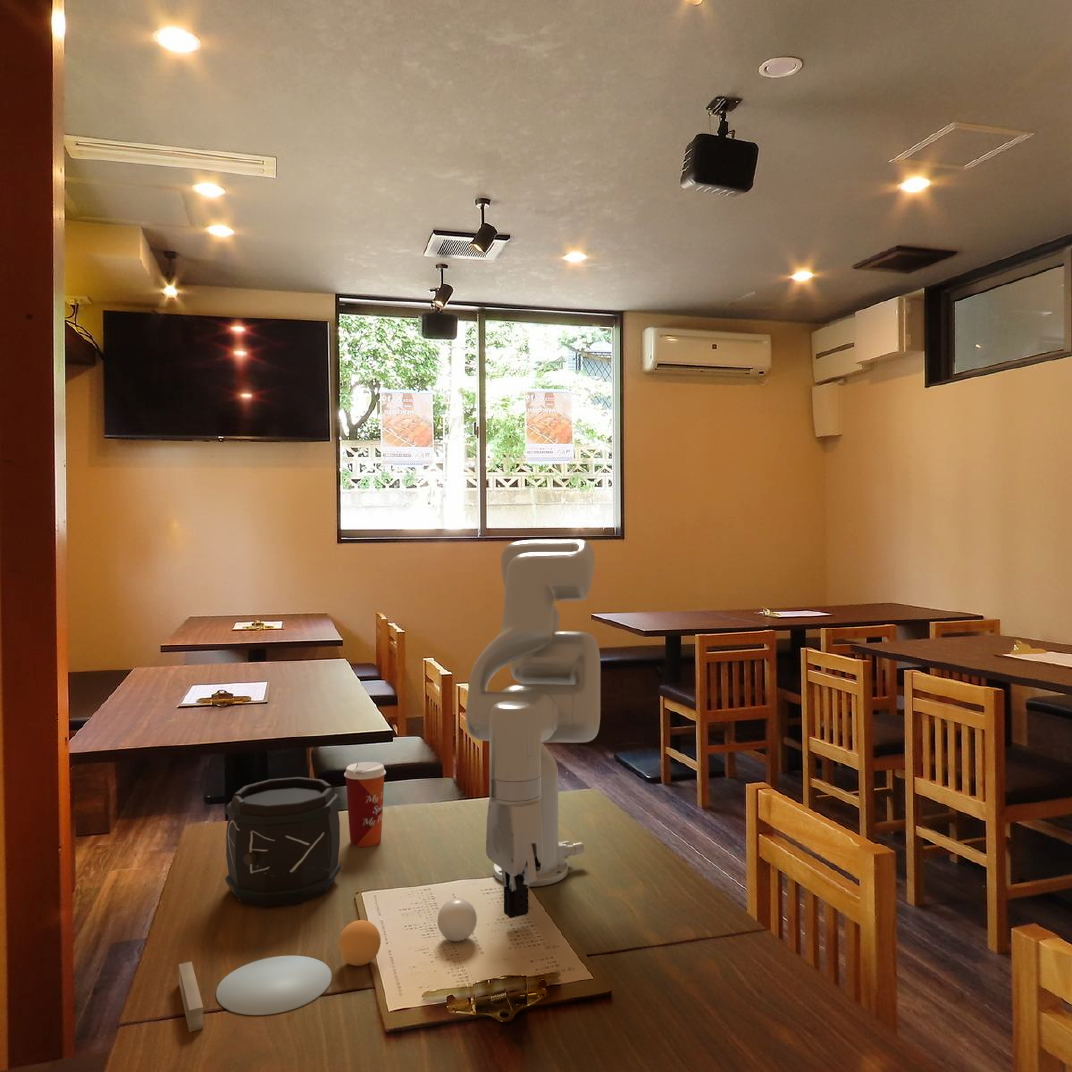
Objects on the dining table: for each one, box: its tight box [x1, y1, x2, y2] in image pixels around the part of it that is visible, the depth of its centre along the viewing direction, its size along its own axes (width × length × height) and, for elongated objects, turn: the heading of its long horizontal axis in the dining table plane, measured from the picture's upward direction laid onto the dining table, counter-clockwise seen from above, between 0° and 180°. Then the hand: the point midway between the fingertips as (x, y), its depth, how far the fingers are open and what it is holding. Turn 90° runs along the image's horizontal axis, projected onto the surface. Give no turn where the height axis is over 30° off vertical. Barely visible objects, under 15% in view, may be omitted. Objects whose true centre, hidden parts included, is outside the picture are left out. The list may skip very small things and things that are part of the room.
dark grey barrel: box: [224, 776, 342, 909], centre depth 138 cm, size 18×18×16 cm
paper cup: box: [343, 761, 387, 848], centre depth 159 cm, size 8×8×14 cm
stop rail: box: [178, 961, 204, 1033], centre depth 104 cm, size 2×12×2 cm, turn 28°
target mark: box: [215, 955, 333, 1016], centre depth 108 cm, size 14×14×1 cm
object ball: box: [338, 919, 382, 967], centre depth 114 cm, size 6×6×6 cm
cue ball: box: [437, 898, 478, 942], centre depth 120 cm, size 6×6×6 cm
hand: (516, 913), depth 124 cm, fingers closed
